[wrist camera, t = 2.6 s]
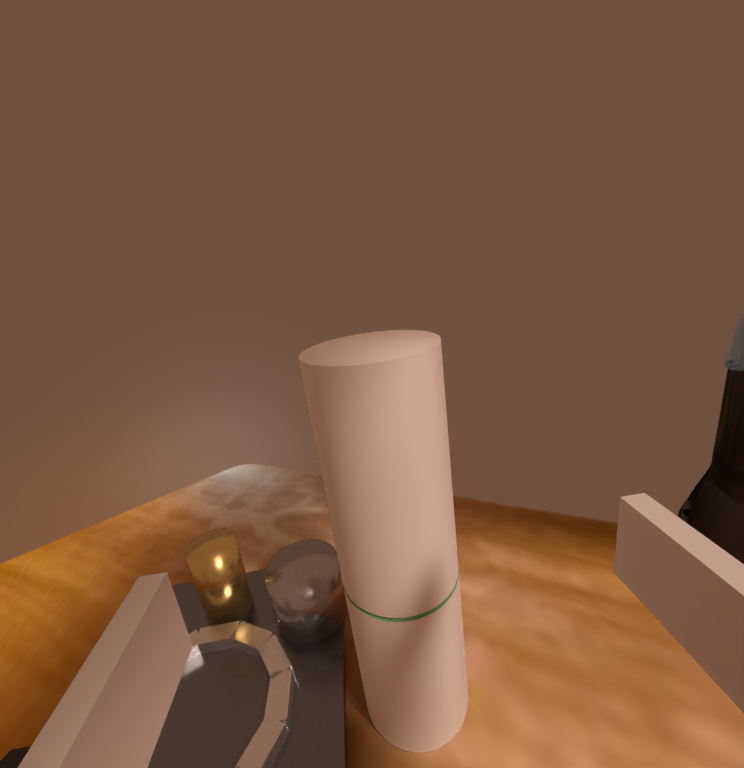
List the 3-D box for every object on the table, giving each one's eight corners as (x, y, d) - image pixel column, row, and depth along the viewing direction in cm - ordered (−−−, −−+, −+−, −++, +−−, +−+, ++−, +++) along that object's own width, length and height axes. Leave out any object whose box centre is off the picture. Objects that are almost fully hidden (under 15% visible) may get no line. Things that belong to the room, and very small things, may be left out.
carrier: (346, 564, 39) (333, 496, 37) (358, 834, 21) (334, 733, 18) (142, 601, 38) (114, 533, 36) (-39, 919, 20) (-123, 825, 17)
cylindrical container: (448, 633, 31) (419, 324, 23) (485, 736, 24) (462, 348, 16) (360, 654, 30) (301, 343, 22) (373, 765, 23) (294, 376, 16)
